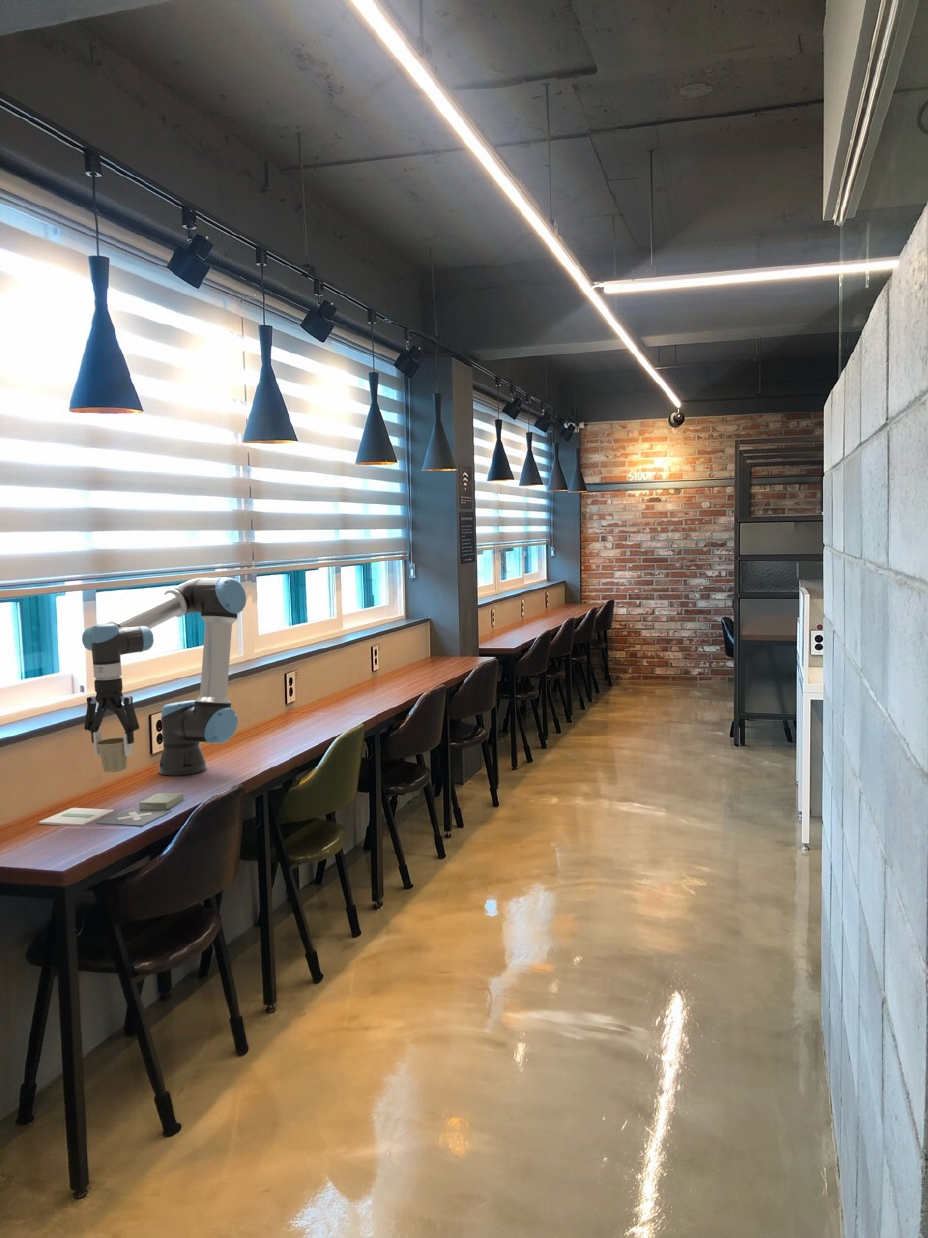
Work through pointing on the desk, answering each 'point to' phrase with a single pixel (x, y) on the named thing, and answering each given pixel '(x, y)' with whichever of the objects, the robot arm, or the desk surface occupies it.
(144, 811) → the pad
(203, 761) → the robot arm
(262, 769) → the desk surface
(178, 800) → the notebook
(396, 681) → the desk surface
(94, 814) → the pad
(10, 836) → the desk surface
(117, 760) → the flower pot
